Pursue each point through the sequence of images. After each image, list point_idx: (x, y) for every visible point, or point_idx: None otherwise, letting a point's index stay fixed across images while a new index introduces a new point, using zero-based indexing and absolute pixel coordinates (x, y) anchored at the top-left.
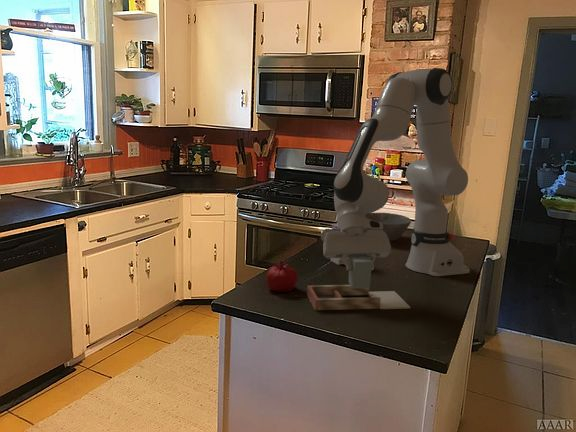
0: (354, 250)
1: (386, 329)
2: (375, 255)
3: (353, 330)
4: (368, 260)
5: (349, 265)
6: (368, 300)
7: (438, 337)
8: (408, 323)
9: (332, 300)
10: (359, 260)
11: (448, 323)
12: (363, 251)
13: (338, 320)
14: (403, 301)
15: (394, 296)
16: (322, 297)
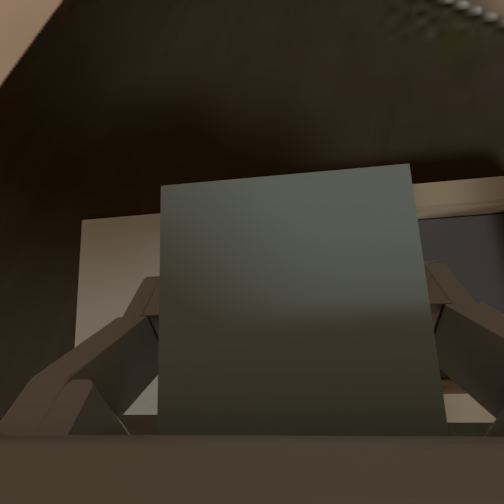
0: (437, 487)
1: (246, 42)
2: (14, 405)
3: (372, 23)
4: (190, 235)
5: (433, 278)
6: None
7: (99, 7)
8: (150, 92)
9: (464, 180)
10: (325, 232)
11: (16, 102)
12: (192, 457)
13: (420, 98)
14: (83, 279)
15: None
16: None
